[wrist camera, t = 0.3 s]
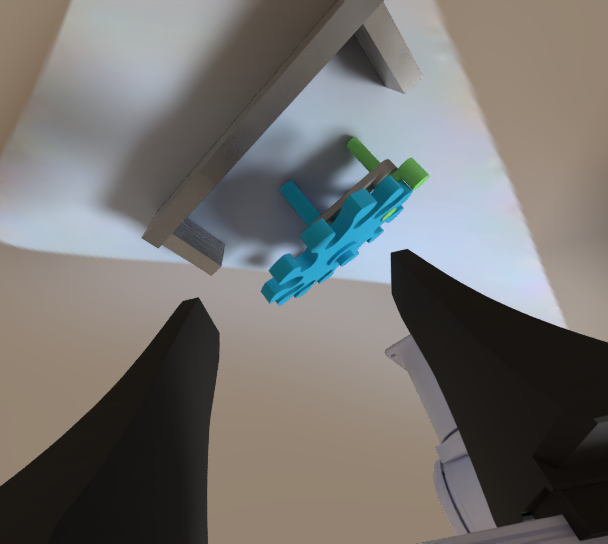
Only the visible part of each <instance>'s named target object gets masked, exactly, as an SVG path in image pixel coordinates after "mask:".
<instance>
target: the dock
mask: <svg viewBox="0 0 608 544" xmlns="http://www.w3.org/2000/svg"><path fill="white" fill-rule="evenodd" d="M383 1H384V0H337V1H336V2H335V3H334V4H333V6H332V7H331V8H330V9H329V10H328V11H327V13H326V14H325V15H324V16H323V17H322V19H321V20H320V21H319V22H318V23H317V24H316V26H315V27H314V28H313V29H312V30H311V31H310V33H309V34H308V35H307V36H306V37H305V39H304V40H303V41H302V42H301V43H300V44H299V46H298V47H297V48H296V49H295V50H294V52H293V53H292V54H291V55H290V56H289V57H288V59H287V60H286V61H285V62H284V63H283V64H282V66H281V67H280V68H279V69H278V70H277V72H276V73H275V74H274V75H273V76H272V77H271V79H270V80H269V81H268V82H267V83H266V84H265V86H264V87H263V88H262V89H261V90H260V92H259V93H258V94H257V95H256V96H255V97H254V99H253V100H252V101H251V102H250V103H249V104H248V106H247V107H246V108H245V109H244V110H243V112H242V113H241V114H240V115H239V116H238V117H237V119H236V120H235V121H234V122H233V123H232V124H231V126H230V127H229V128H228V129H227V130H226V132H225V133H224V134H223V135H222V136H221V137H220V139H219V140H218V141H217V142H216V143H215V144H214V146H213V147H212V148H211V149H210V150H209V152H208V153H207V154H206V155H205V156H204V157H203V159H202V160H201V161H200V162H199V163H198V164H197V166H196V167H195V168H194V169H193V170H192V172H191V173H190V174H189V175H188V176H187V177H186V179H185V180H184V181H183V182H182V183H181V184H180V186H179V187H178V188H177V189H176V190H175V192H174V193H173V194H172V195H171V196H170V197H169V199H168V200H167V201H166V202H165V203H164V205H163V206H162V207H161V208H160V209H159V210H158V212H157V213H156V214H155V216H154V218H153V219H152V221H151V223H150V224H149V226H148V228H147V229H146V231H145V233H144V234H143V236H142V239H144V240H146V241H147V242H149V243H150V244H152V245H154V246H155V247H157V248H159V247H160V246H161V245H164V246H165V247H167V248H168V249H170V250H171V251H173V252H175V253H176V254H178V255H179V256H181V257H183V258H184V259H186V260H187V261H189V262H190V263H192V264H194V265H195V266H197V267H198V268H200V269H202V270H203V271H205V272H206V273H208V274H210V275H211V276H212V275H213V274H214V273H215V272H216V271H217V270H218V269H219V268H220V267H221V266H222V260H223V254H224V248H225V245H224V244H223V243H222V242H220V241H219V240H217V239H216V238H215V237H213V236H212V235H211V234H209V233H208V232H206V231H205V230H204V229H202V228H201V227H199V226H198V225H197V224H195V223H194V222H192V221H191V220H190V219H188V218H187V217H188V215H189V214H190V213H191V212H192V211H193V210H194V209H195V208H196V207H197V206H198V204H199V203H200V202H201V201H202V200H203V199H204V198H205V197H206V196H207V195H208V193H209V192H210V191H211V190H212V189H213V188H214V187H215V186H216V185H217V184H218V182H219V181H220V180H221V179H222V178H223V177H224V176H225V175H226V174H227V173H228V171H229V170H230V169H231V168H232V167H233V166H234V165H235V164H236V163H237V162H238V160H239V159H240V158H241V157H242V156H243V155H244V154H245V153H246V152H247V151H248V149H249V148H250V147H251V146H252V145H253V144H254V143H255V142H256V141H257V140H258V139H259V137H260V136H261V135H262V134H263V133H264V132H265V131H266V130H267V129H268V128H269V126H270V125H271V124H272V123H273V122H274V121H275V120H276V119H277V118H278V117H279V115H280V114H281V113H282V112H283V111H284V110H285V109H286V108H287V107H288V106H289V104H290V103H291V102H292V101H293V100H294V99H295V98H296V97H297V96H298V95H299V93H300V92H301V91H302V90H303V89H304V88H305V87H306V86H307V85H308V84H309V82H310V81H311V80H312V79H313V78H314V77H315V76H316V75H317V74H318V73H319V71H320V70H321V69H322V68H323V67H324V66H325V65H326V64H327V63H328V62H329V61H330V59H331V58H332V57H333V56H334V55H335V54H336V53H337V52H338V51H339V50H340V48H341V47H342V46H343V45H344V44H345V43H346V42H347V41H348V40H349V39H350V37H351V36H352V35H353V34H354V36H355V37H356V39H357V41H358V42H359V44H360V45H361V47H362V49H363V50H364V52H365V53H366V55H367V57H368V58H369V60H370V61H371V63H372V65H373V66H374V68H375V69H376V71H377V73H378V74H379V76H380V78H381V79H382V81H383V82H384V84H385V86H386V87H387V88H390V89H392V90H395V91H398V92H401V93H403V94H405V93H406V92H407V91H409V90H410V89H411V88H412V87H413V86H414V85H415V84H416V83H417V82H418V81H419V80H420V79H421V78H422V77H423V75H422V73H421V71H420V69H419V67H418V66H417V64H416V62H415V60H414V58H413V56H412V54H411V53H410V51H409V49H408V47H407V45H406V43H405V41H404V39H403V38H402V36H401V34H400V32H399V30H398V28H397V26H396V25H395V23H394V21H393V19H392V17H391V15H390V13H389V12H388V10H387V8H386V6H385V4H384V2H383Z"/></svg>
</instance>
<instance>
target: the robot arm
mask: <svg viewBox="0 0 608 544" xmlns="http://www.w3.org/2000/svg"><path fill="white" fill-rule="evenodd" d="M391 286H392V296H393V298H394V301H395V303H396V306H397V308H398V311H399V313H400V315H401V318H402V319H403V321H404V323H405V325H406V326H407V328H408V330H409V332H410V335H409V336H407V337H405V338H404V339H402V340H400V341H399V342H397V343H396V344H394V345H392V346H390V347H389V348H387V349H386V350H385V353H386V356H388V357H389V358H390V359H392V360H393V361H395V362H396V363H397V364H399V365H400V366H401V367H403V368H404V369H406V370H407V371H408V373H409V375H410V377H411V380H412V382H413V384H414V386H415V388H416V391H417V393H418V395H419V397H420V399H421V402H422V404H423V406H424V408H425V410H426V413H427V415H428V417H429V419H430V422H431V424H432V426H433V428H434V430H435V433H436V435H437V437H438V439H439V441H440V445H438V446H436V447H435V448H436V451H437V453H438V455H439V458H440V459H439V460H436V462H435V464H434V473H433V481H434V486H435V490H436V493H437V497H438V499H439V502H440V505H441V507H442V510H443V512H444V514H445V516H446V518H447V521H448V523H449V524H450V526H451V528H452V530H453V532H454V533H455V535H456V536H453V537H448V538H443V539H438V540H433V541H428V542H423V543H418V544H608V342H605V341H601V340H598V339H595V338H591V337H588V336H585V335H582V334H579V333H576V332H573V331H570V330H567V329H564V328H561V327H558V326H556V325H553V324H550V323H548V322H545V321H542V320H540V319H537V318H534V317H532V316H529V315H527V314H524V313H522V312H520V311H517V310H515V309H513V308H511V307H508V306H506V305H504V304H502V303H499V302H497V301H495V300H493V299H491V298H489V297H487V296H485V295H483V294H481V293H479V292H477V291H475V290H473V289H472V288H470V287H468V286H466V285H464V284H462V283H461V282H459V281H457V280H456V279H454V278H452V277H450V276H449V275H447V274H446V273H444V272H442V271H441V270H439V269H438V268H436V267H434V266H433V265H431V264H430V263H428V262H427V261H425V260H424V259H422V258H421V257H419V256H418V255H416V254H415V253H413V252H411V251H410V250H408V249H405V250H400V251H396V252H392V253H391ZM219 345H220V344H219V331H218V330H217V328H216V326H215V325H214V323H213V321H212V319H211V318H210V316H209V314H208V312H207V311H206V309H205V307H204V306H203V304H202V302H201V301H200V299H199V297H198V298H194V299H189V300H185V301H183V302H182V303H181V304H180V305H179V306H178V308H177V309H176V310H175V311H174V313H173V314H172V316H171V317H170V318H169V320H168V321H167V322H166V324H165V325H164V326H163V328H162V329H161V330H160V331H159V333H158V334H157V335H156V337H155V338H154V339H153V340H152V342H151V343H150V344H149V346H148V347H147V348H146V349H145V351H144V352H143V353H142V354H141V355H140V357H139V358H138V359H137V360H136V361H135V363H134V364H133V365H132V366H131V367H130V369H129V370H128V371H127V372H126V373H125V375H124V376H123V377H122V378H121V379H120V380H119V381H118V382H117V383H116V385H114V387H113V388H112V389H111V390H110V391H109V392H108V393H107V394H106V395H105V396H104V397H103V398H102V399H101V400H100V401H99V402H98V403H97V404H96V405H95V406H94V407H93V408H92V409H91V410H90V411H89V412H88V413H86V414H85V415H84V416H83V417H82V418H81V419H80V420H79V421H78V422H77V423H76V424H75V425H74V426H73V427H72V428H70V429H69V430H68V431H67V432H66V433H65V434H64V435H63V436H62V437H61V438H59V439H58V440H57V441H56V442H55V443H53V444H52V445H51V446H50V447H49V448H48V449H46V450H45V451H44V452H43V453H42V454H40V455H39V456H38V457H37V458H36V459H34V460H33V461H32V462H31V463H30V464H28V465H27V466H26V467H25V468H24V469H22V470H21V471H20V472H18V473H17V474H16V475H15V476H14V477H12V478H11V479H9V480H8V481H7V482H5V483H4V484H3V485H1V486H0V544H208V531H207V471H208V470H207V469H208V443H209V425H210V417H211V410H212V403H213V397H214V390H215V384H216V377H217V370H218V363H219Z"/></svg>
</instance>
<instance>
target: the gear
mask: <svg viewBox="0 0 608 544" xmlns="http://www.w3.org/2000/svg"><path fill="white" fill-rule="evenodd" d="M346 147H347V148H348V149H349V150H350V152H351V153H352V154H353V155H354V156H355V157H356V158H357V159H358V160H359V161H360V162H361V163H362V165H363V166H364V167H365V168H366V169H367V170H368V171H369V172H370V173H369V174H367V175H366V176H365V177H364V178H363V179H362V180H361V181H360V182H358V183H357V184H356V185H355V186H354V187H353V188H352V189H351V190H349V191H348V192H347V193H346V194H345V195H344V196H343V197H342V198H340V199H339V200H338V201H337V202H336V203H335V204H334V205H333V206H331V207H330V208H329V209H328V210H327V211H326V212H325V213H324V214H323V215H321V214H320V213H319V212H318V211H317V209H316V208H315V207H314V206H313V205H312V203H311V202H310V201H309V200H308V199H307V197H306V196H305V195H304V194H303V193H302V191H301V190H300V189H299V188H298V187H297V186H296V184H295V183H294V182H293V181H289V182H287V183H285V184H284V185H283V186H282V188H281V190H280V192H281V194H282V195H283V196H284V197H285V199H286V200H287V201H288V202H289V203H290V205H291V206H292V207H293V208H294V210H295V211H296V212H297V213H298V214H299V216H300V217H301V218H302V219H303V221H304V222H305V223H306V224H307V225H308V227H309V228H307V229H306V230H305V231H304V232H303V233H301V235H300V238H301V240H302V241H303V242H304V243H305V245H306V246H307V248H306V250H305V251H304V252H303V253H302V254H301V255H300V256H298V257H297V258H295V259H294V258H293V257H292V255H291V254H286V255H283V256H282V257H281V258H280V259H279V260H278V261H277V262H276V263H275V264H274V265H273V266H272V267H271V268H270V269H269V272H270V273H271V275H272V276H273V277H274V278H272V279H270V280H269V281H267V282H266V283H265V284H264V286H263V287H262V290H261V292H262V294H263V295H264V296H265V298H266V299H267V301H268V302H269V303H272V302H274V301H276V302H277V304H278V305H282V304H283V303H285V302H286V301H287V300H289V299H290V298H291V297H292V296H293V295H294V297H295V298H297V297H299V296H301V295H303V294H305V293H306V292H307V291H308V290H309V289H310V287H311V286H312V285H313V284H314V283H315V282H318V283H321V282H323V281H325V280H326V279H328V278H329V277H330V276H331V275H332V274H333V273H334V270H335V269H336V268H337V267H338V266H339V265H340V266H343V265H345V264H347V263H348V262H349V261H351V260H352V259H353V258H355V257H356V256H357V255H358V254H359V252H358V251H357V250H358V249H359V247H360V246H361V245H362V244H363V243H364V242H365V241H367V242H368V243H371V242H372V241H373V240H374V239H376V238H377V237H378V236H379V235H380V234H381V233H382V232H383V231H384V230H383V229H382V228H381V227H380V225H381V224H382V223H384V222H387V223H389V222H390V221H392V220H393V219H394V218H395V217H396V216H397V215H398V214H399V213H400V212H401V211H402V210H403V209H404V208H403V207H402V206H401V204H403V203H404V202H405V201H406V200H407V199H408V198H409V196H410V195H411V193H412V190H416V189H417V188H418V187H420V186H421V185H422V184H423V183H424V182H425V181H426V180H427V179H428V178H429V174H428V173H427V172H426V171H425V170H424V169H423V168H422V167H421V166H420V165H419V164H418V163H417V162H416V161H415V160H414V159H413V158H409V159H408V160H406V161H405V162H404V163H403V164H402V165H401V166H400V167H399V168H397V167H396V166H395V165H394V164H393V163H392V162H391V161H390V160H389V159H387V160H385V161H383V162H381V163H380V162H379V161H378V160H377V159H376V158H375V157H374V156H373V155H372V154H371V153H370V152H369V151H368V149H367V148H366V147H365V146H364V145H363V144H362V143H361V142H360V141H359V140H358V139H357V138H356V137H353V138H352V139H351V140H350V141H349V142H348V143H347V146H346ZM403 180H404V181H405V182H406V183H407V184H408V185H409V186H410V187H409V186H408V185H407V184H406V183H405V182H404V181H403ZM410 188H411V189H412V190H411V189H410ZM372 190H374V191H373V192H372V193H371V194H370V192H371V191H372Z"/></svg>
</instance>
